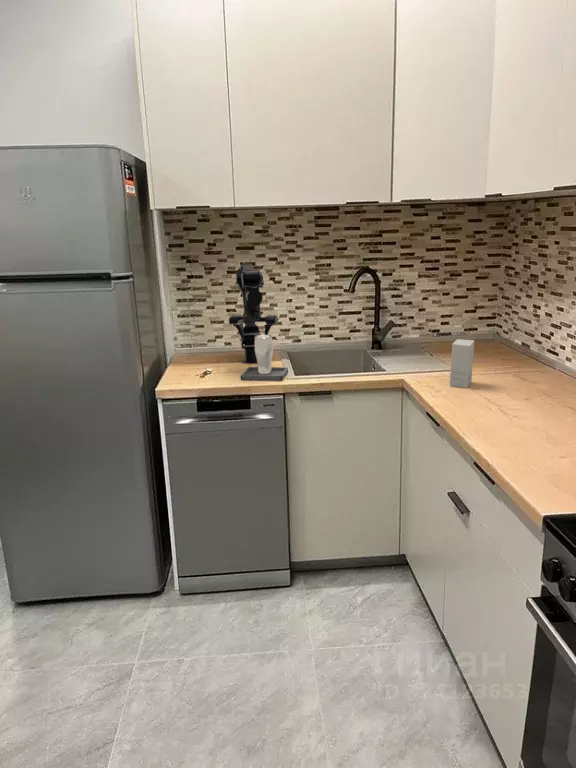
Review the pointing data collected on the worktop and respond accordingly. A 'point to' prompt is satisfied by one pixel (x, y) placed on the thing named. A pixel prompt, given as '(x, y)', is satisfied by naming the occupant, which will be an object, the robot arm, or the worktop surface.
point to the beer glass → (264, 354)
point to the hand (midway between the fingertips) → (254, 340)
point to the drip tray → (252, 375)
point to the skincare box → (461, 363)
